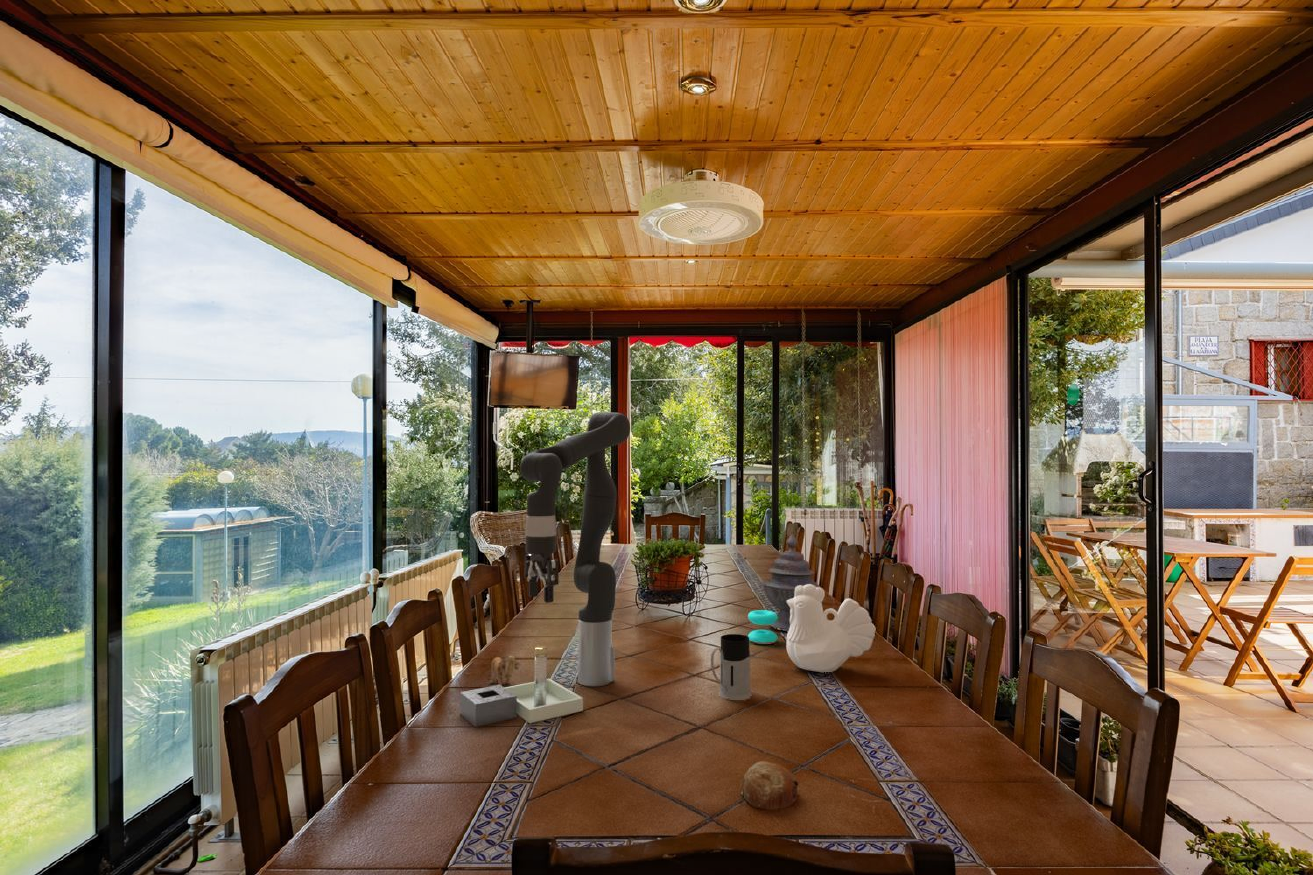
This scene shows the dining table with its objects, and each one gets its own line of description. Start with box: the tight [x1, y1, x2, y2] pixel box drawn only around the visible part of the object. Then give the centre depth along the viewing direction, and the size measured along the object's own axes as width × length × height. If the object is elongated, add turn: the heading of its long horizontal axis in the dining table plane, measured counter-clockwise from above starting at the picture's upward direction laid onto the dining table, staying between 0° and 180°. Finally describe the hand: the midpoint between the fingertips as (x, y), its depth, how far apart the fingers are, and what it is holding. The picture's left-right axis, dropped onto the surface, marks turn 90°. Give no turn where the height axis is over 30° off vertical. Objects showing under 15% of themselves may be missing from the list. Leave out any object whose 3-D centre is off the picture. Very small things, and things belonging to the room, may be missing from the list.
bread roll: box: [740, 760, 799, 811], centre depth 128 cm, size 10×10×8 cm
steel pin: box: [533, 645, 548, 707], centre depth 172 cm, size 3×3×14 cm
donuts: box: [747, 609, 779, 643], centre depth 236 cm, size 10×10×10 cm
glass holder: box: [710, 633, 753, 701], centre depth 181 cm, size 9×14×15 cm, turn 137°
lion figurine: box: [488, 655, 522, 686], centre depth 191 cm, size 15×5×9 cm, turn 40°
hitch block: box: [459, 684, 518, 728], centre depth 165 cm, size 10×10×6 cm
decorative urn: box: [762, 533, 820, 630], centre depth 256 cm, size 20×20×35 cm
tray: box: [504, 678, 584, 724], centre depth 172 cm, size 14×18×4 cm
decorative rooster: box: [785, 584, 876, 674], centre depth 204 cm, size 25×16×25 cm, turn 65°
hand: (540, 599), depth 172 cm, fingers open, 8 cm apart
